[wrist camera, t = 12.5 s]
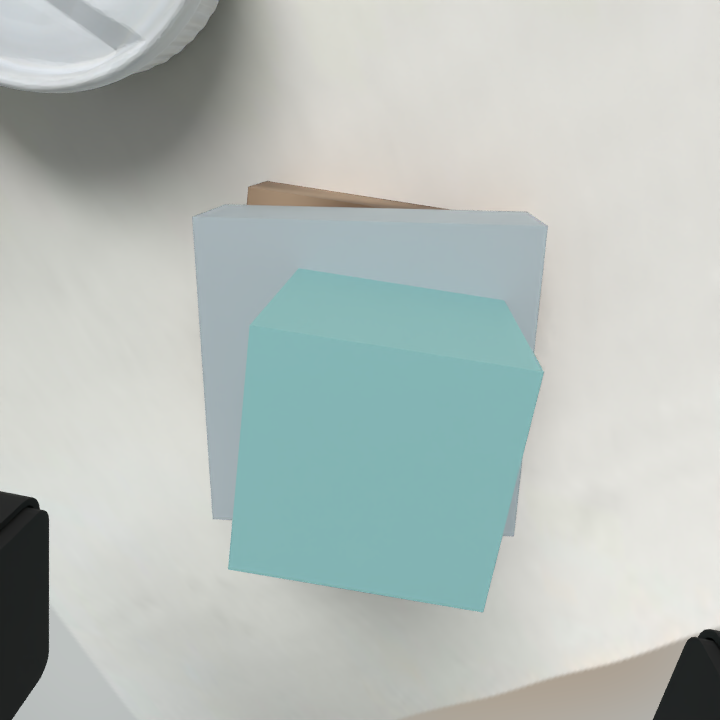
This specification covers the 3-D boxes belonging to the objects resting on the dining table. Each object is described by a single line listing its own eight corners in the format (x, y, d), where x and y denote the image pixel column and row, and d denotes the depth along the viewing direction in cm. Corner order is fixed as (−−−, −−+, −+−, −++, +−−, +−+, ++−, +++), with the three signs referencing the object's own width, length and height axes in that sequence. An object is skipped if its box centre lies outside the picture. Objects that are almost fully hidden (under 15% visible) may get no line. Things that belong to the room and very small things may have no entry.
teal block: (504, 300, 19) (544, 371, 13) (464, 481, 21) (483, 612, 15) (298, 268, 19) (249, 325, 13) (278, 451, 21) (228, 569, 15)
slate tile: (526, 211, 21) (548, 226, 18) (500, 482, 24) (513, 536, 21) (225, 204, 22) (192, 216, 19) (238, 468, 25) (212, 518, 22)
